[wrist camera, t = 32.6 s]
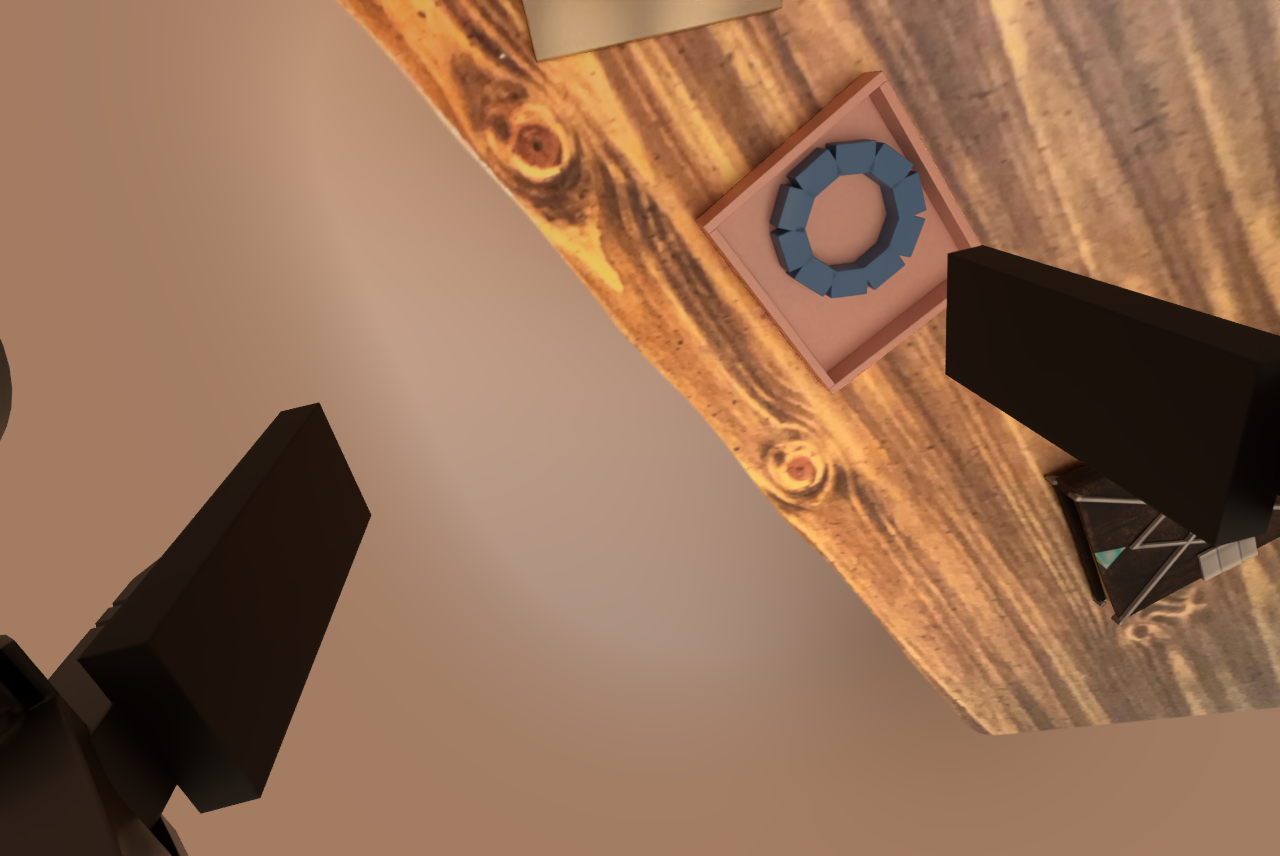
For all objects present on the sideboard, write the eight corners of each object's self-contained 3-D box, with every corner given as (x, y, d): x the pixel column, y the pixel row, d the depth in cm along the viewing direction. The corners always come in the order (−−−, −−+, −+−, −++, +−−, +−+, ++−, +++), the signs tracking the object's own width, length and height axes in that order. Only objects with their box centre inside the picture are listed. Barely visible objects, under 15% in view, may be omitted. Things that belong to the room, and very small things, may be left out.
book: (1297, 336, 52) (1367, 357, 48) (1313, 487, 60) (1375, 518, 55) (1042, 474, 55) (1086, 507, 51) (1087, 603, 62) (1129, 641, 58)
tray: (694, 220, 43) (703, 226, 41) (864, 72, 40) (882, 70, 38) (819, 382, 49) (832, 395, 47) (973, 262, 46) (995, 270, 44)
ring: (753, 277, 44) (760, 284, 43) (798, 122, 41) (808, 122, 39) (879, 303, 46) (891, 310, 45) (933, 157, 42) (949, 159, 41)
